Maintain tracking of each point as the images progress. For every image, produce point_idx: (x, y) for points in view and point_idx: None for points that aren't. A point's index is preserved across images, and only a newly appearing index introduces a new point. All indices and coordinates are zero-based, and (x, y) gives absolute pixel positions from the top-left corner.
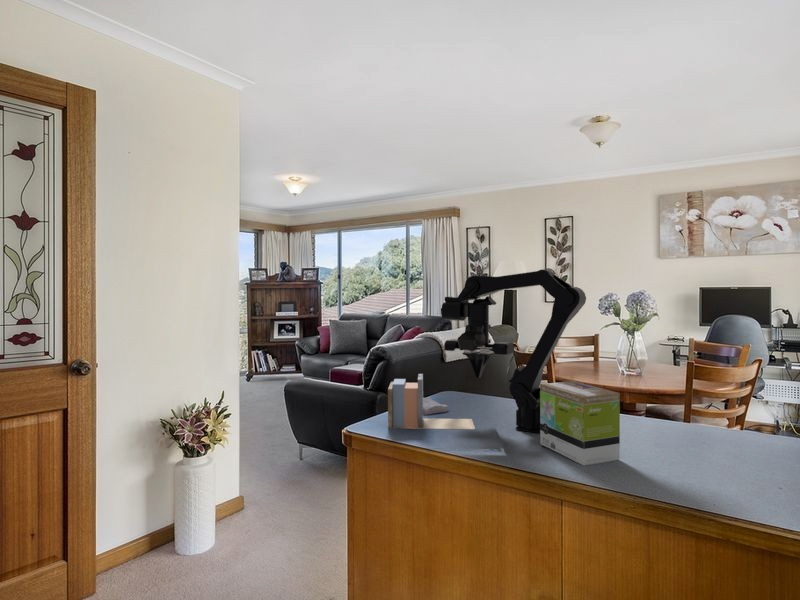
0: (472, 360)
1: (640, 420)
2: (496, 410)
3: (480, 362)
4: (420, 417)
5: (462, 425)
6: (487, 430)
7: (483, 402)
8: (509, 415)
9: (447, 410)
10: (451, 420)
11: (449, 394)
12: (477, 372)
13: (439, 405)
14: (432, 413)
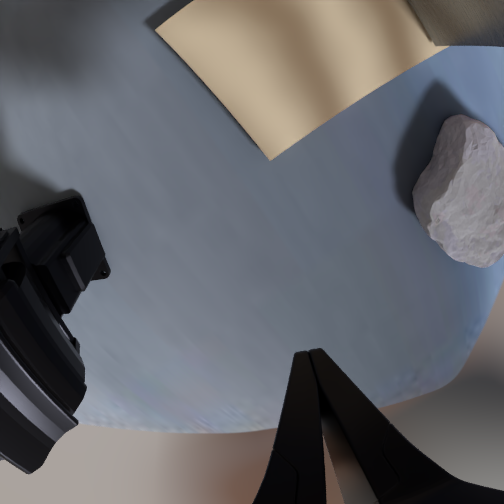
0: (404, 484)
1: None
2: (289, 351)
3: (280, 497)
4: None
5: (237, 36)
6: (150, 111)
7: (359, 380)
8: (221, 332)
9: (417, 212)
10: (331, 79)
11: (449, 370)
12: (313, 386)
13: (450, 190)
14: (446, 145)
